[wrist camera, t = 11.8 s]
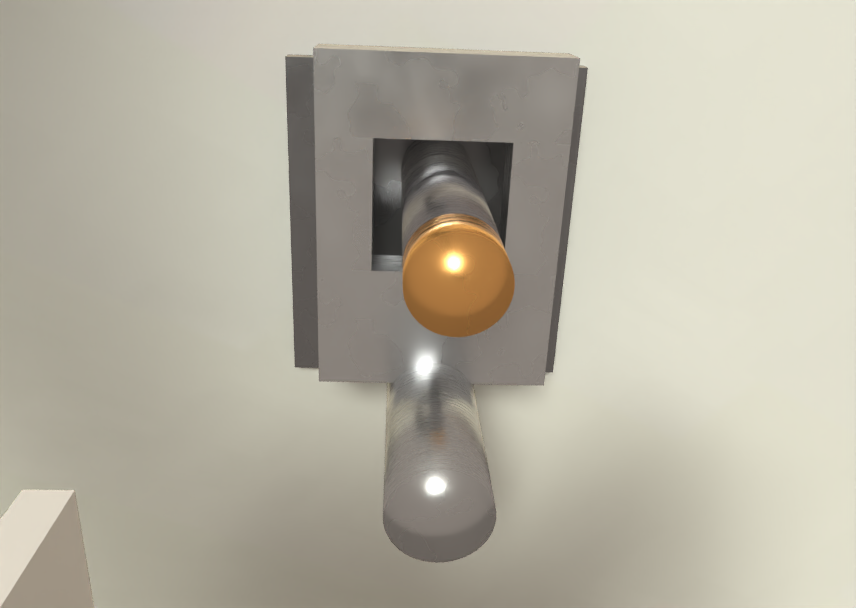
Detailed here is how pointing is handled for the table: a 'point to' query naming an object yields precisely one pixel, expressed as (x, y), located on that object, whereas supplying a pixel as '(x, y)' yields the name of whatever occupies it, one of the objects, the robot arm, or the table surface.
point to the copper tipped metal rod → (450, 243)
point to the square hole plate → (382, 253)
